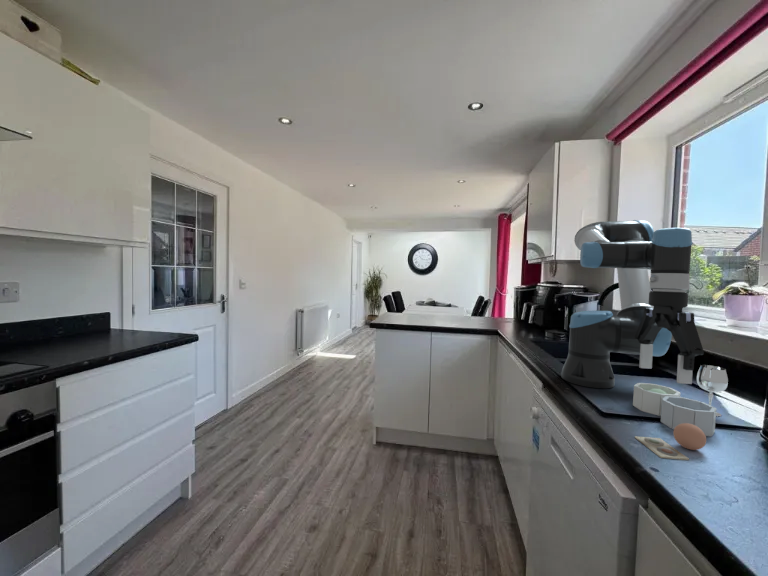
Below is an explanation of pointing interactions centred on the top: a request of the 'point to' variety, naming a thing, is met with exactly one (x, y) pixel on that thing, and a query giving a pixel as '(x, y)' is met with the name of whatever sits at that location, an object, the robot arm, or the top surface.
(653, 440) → the card
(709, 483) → the top surface
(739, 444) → the top surface
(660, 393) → the sage ball
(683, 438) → the terracotta ball
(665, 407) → the grey octagonal bowl
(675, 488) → the top surface
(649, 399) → the white octagonal bowl
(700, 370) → the wineglass
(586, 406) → the top surface
